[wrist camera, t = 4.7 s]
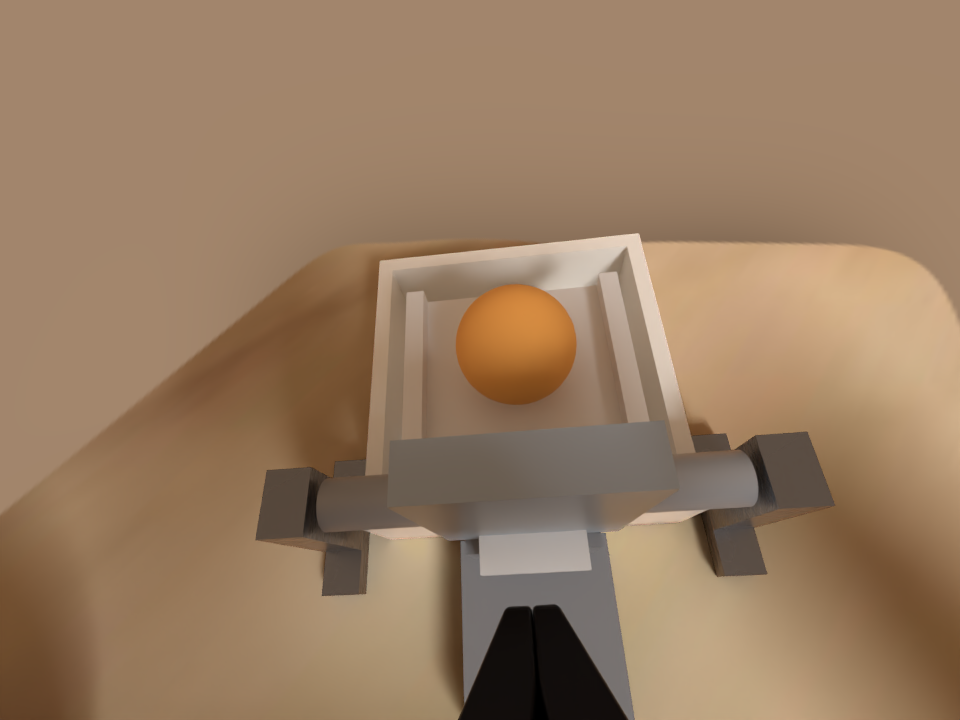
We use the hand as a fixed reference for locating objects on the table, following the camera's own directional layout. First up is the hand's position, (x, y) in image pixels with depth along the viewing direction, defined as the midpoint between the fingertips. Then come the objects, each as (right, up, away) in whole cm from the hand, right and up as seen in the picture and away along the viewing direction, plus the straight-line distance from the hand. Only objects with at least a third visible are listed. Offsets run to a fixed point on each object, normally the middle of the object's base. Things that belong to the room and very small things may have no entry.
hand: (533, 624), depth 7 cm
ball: (0, +5, +6) cm, 8 cm away
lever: (+1, -2, +10) cm, 11 cm away
